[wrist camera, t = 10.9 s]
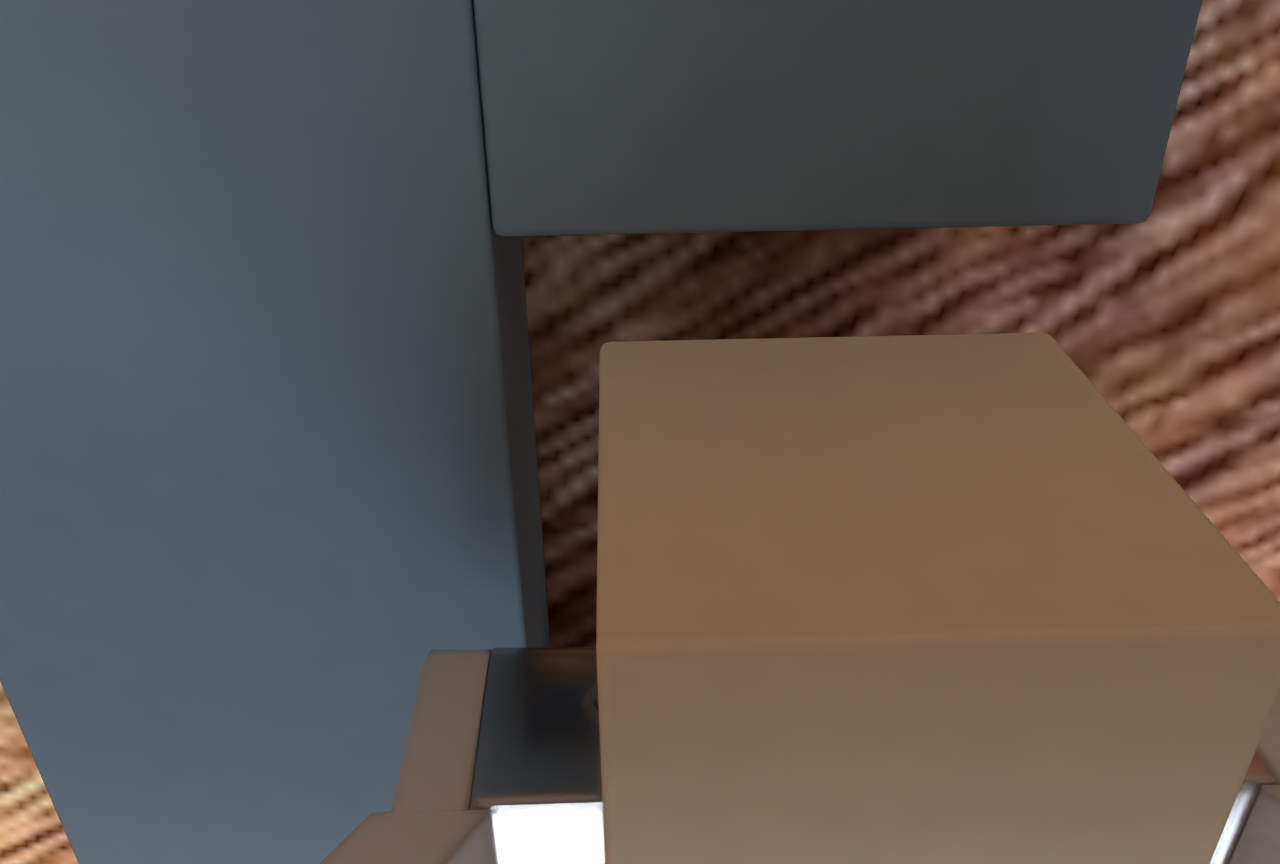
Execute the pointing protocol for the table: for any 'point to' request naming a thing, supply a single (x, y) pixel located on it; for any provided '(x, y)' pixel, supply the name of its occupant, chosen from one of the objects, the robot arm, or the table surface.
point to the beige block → (909, 612)
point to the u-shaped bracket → (410, 328)
